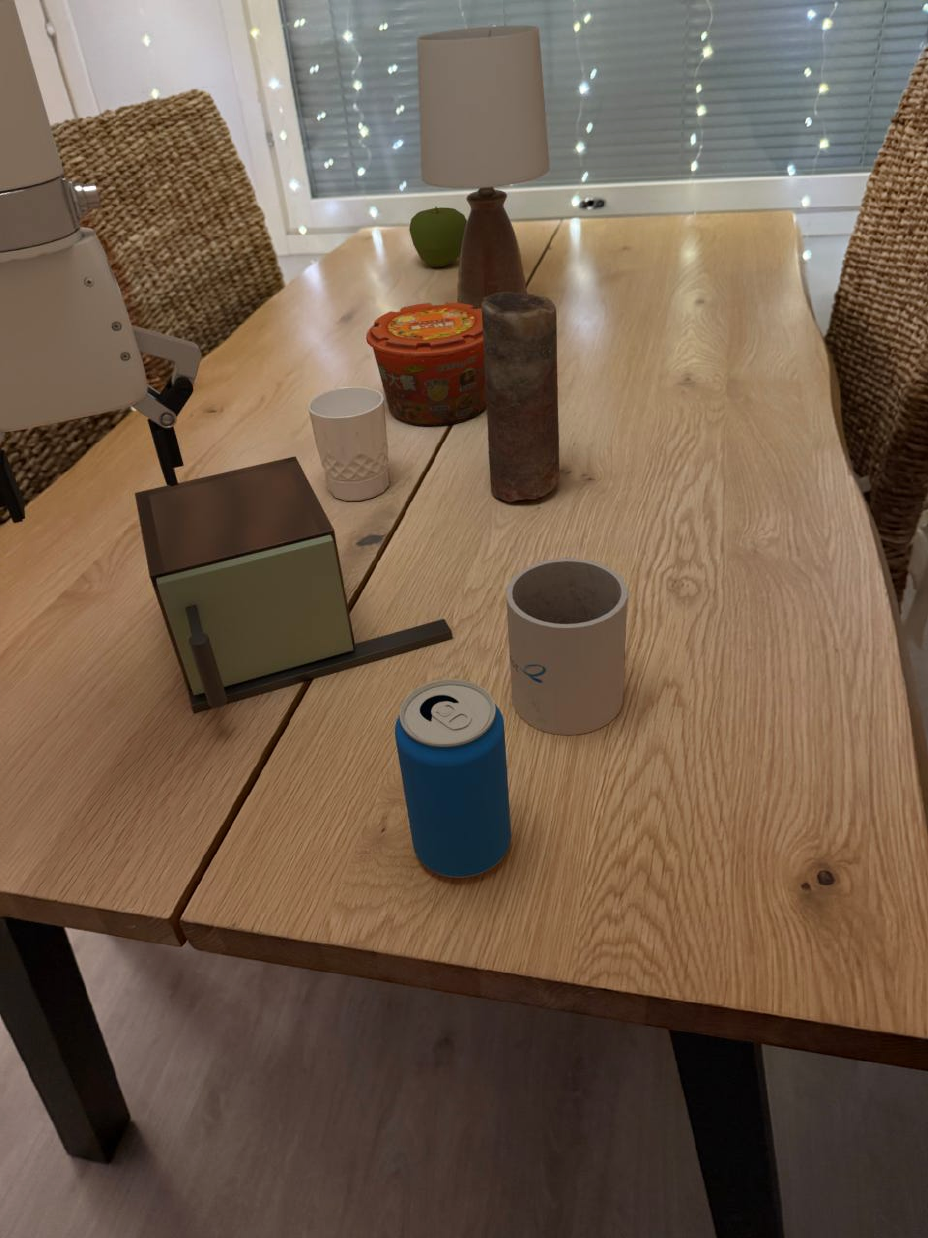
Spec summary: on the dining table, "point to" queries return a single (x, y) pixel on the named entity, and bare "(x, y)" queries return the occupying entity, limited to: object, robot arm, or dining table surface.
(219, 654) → the door
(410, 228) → the apple
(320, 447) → the white cup
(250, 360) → the dining table surface
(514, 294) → the candle
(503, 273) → the lamp
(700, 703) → the dining table surface
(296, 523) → the cabinet
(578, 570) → the mug
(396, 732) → the beverage can
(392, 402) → the food container
